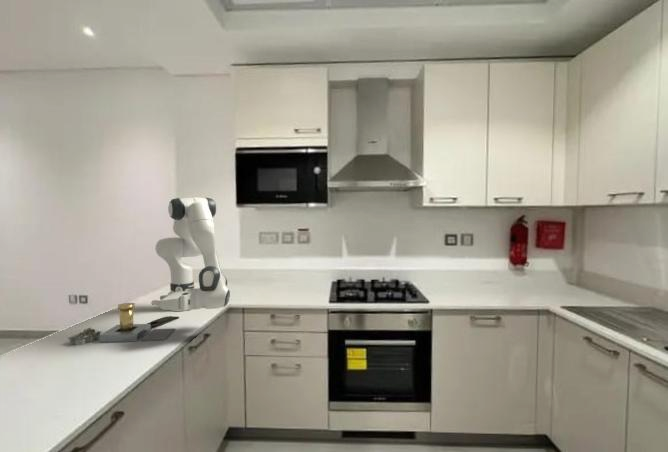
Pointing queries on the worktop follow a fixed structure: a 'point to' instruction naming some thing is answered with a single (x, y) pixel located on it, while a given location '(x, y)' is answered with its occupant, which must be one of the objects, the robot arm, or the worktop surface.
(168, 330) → the mat
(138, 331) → the housing
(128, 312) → the round headed pin
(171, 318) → the wood
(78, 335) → the egg carton
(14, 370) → the worktop surface
